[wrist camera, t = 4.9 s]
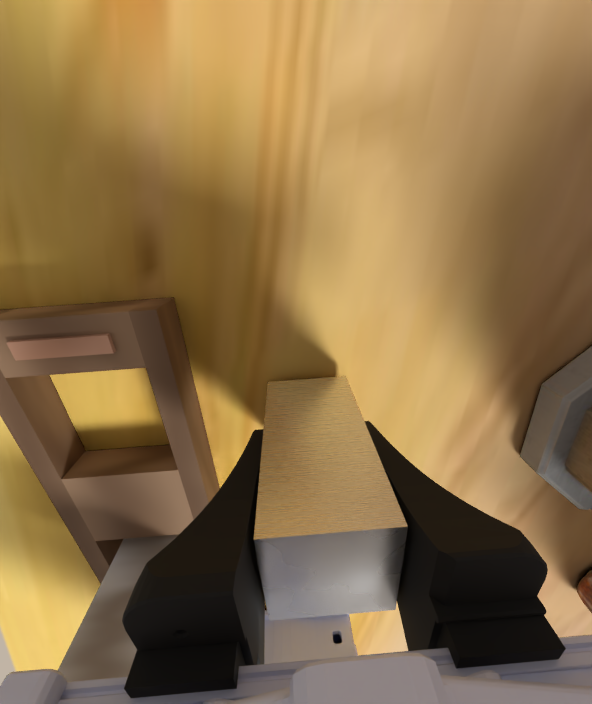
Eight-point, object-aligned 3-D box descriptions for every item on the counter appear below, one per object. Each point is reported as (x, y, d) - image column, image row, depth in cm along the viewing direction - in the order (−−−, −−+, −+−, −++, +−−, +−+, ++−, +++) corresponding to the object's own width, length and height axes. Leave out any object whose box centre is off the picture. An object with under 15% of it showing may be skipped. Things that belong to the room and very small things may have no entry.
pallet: (173, 297, 13) (40, 390, 6) (241, 576, 22) (221, 748, 15) (-8, 310, 13) (-371, 421, 6) (134, 586, 22) (62, 763, 15)
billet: (345, 376, 15) (408, 526, 7) (344, 437, 16) (395, 610, 9) (267, 381, 15) (253, 539, 7) (275, 443, 16) (269, 620, 9)
